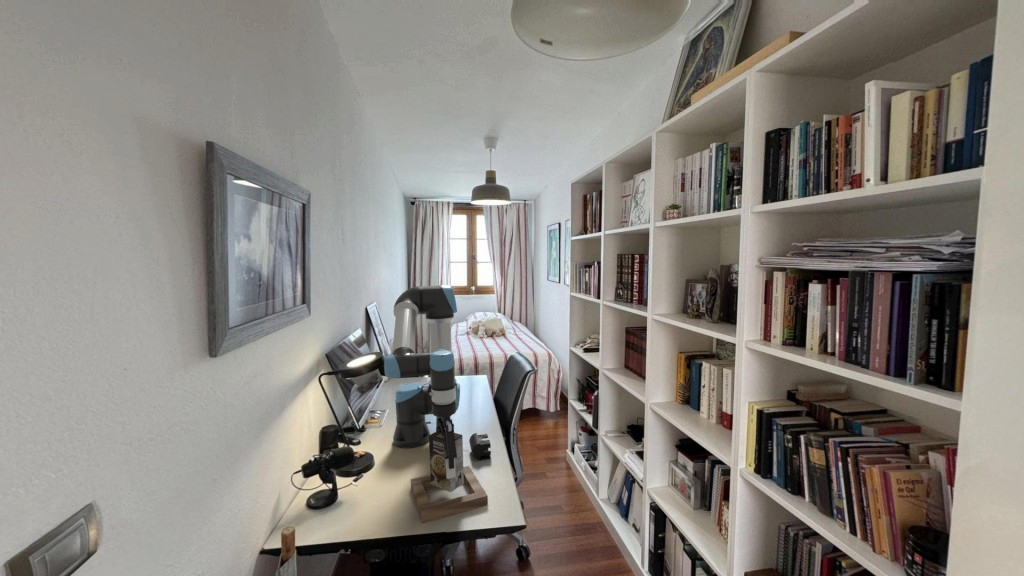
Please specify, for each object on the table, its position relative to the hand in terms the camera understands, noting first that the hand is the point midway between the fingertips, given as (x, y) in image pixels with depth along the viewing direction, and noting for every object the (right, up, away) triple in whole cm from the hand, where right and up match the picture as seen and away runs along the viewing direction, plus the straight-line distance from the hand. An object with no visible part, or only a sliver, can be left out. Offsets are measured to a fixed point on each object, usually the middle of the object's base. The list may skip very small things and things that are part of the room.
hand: (446, 468), depth 129 cm
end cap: (+8, -7, +28) cm, 30 cm away
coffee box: (0, -5, 0) cm, 5 cm away
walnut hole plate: (0, -9, +1) cm, 9 cm away
